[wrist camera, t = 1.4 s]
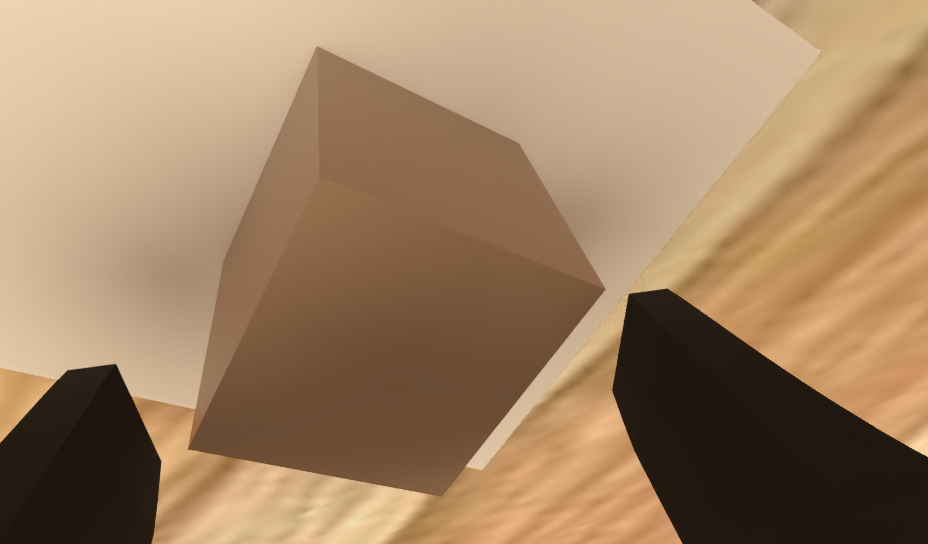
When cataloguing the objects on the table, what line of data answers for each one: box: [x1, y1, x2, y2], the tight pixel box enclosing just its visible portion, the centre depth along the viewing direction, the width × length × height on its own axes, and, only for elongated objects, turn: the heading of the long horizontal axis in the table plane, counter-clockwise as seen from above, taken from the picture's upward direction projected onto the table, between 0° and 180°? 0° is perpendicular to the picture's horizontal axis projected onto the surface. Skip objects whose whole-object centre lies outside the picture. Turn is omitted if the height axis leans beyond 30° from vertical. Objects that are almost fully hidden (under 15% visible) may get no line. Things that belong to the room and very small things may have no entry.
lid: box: [0, 0, 822, 496], centre depth 12 cm, size 14×14×6 cm
